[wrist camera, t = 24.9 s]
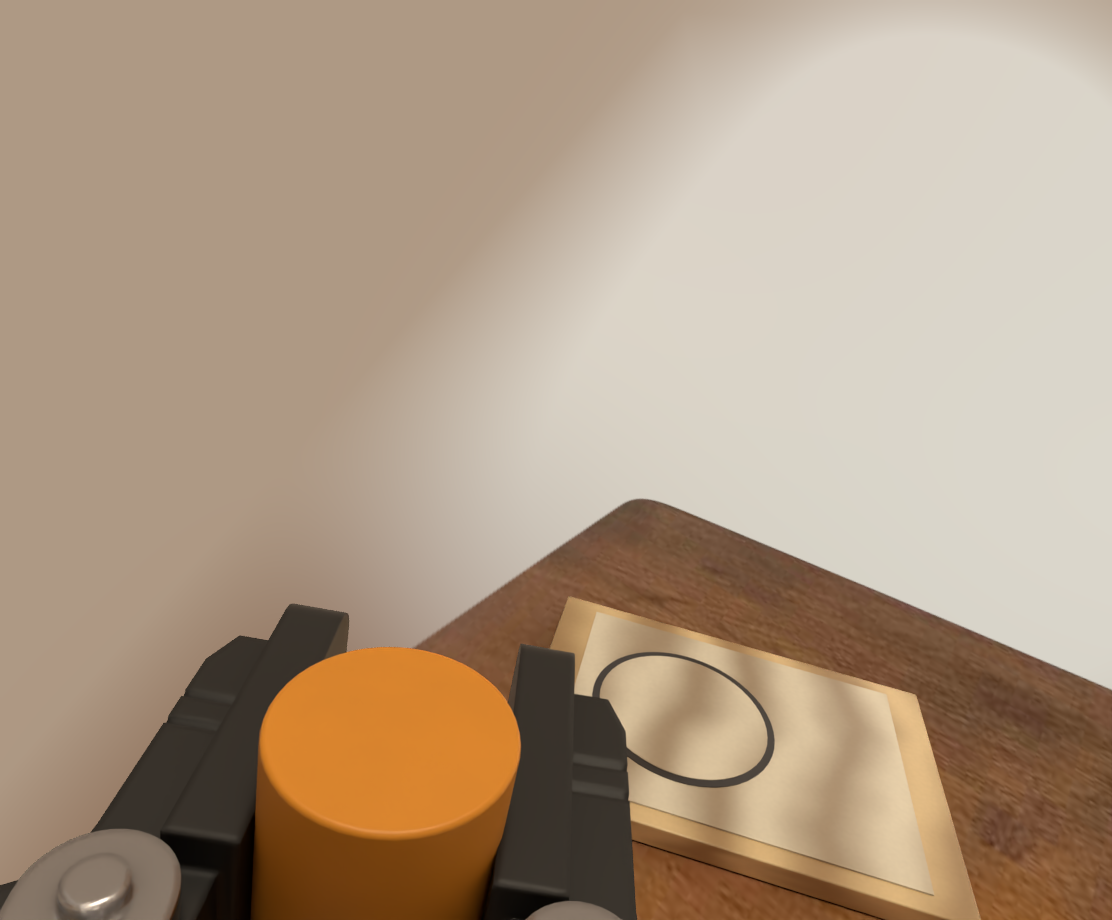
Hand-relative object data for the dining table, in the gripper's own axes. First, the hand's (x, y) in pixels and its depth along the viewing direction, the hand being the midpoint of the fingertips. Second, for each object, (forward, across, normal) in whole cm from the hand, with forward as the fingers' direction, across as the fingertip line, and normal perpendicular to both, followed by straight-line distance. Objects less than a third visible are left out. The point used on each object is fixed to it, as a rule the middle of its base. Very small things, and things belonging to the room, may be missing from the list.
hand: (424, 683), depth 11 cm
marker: (-3, 0, +12) cm, 12 cm away
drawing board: (+26, -15, +23) cm, 38 cm away
